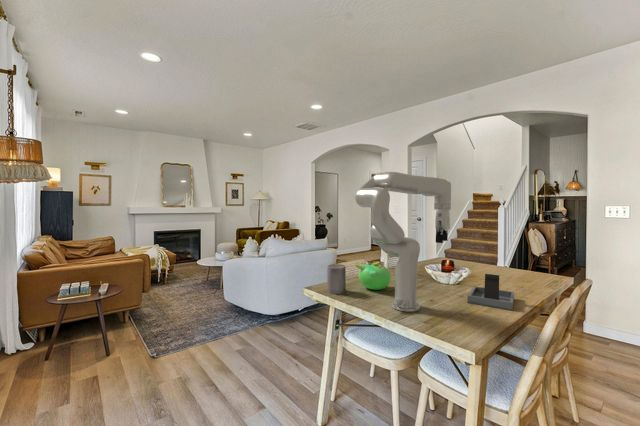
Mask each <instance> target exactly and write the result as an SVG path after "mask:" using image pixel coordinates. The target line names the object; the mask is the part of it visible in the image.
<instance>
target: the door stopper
mask: <svg viewBox="0 0 640 426" xmlns="http://www.w3.org/2000/svg"><path fill="white" fill-rule="evenodd" d="M484 288H485V289H484V298H489V299H495V300H499V290H500V274H490V273H484Z"/></svg>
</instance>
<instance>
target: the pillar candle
mask: <svg viewBox="0 0 640 426" xmlns="http://www.w3.org/2000/svg"><path fill="white" fill-rule="evenodd" d="M326 267H327V269H326V271H327V277H326V279H327V284H326V285H327V290H326V291H327V293H328V294H331V295H343V294H344V293H346V291H347V288H346V287H347V285H346V283H347V282H346V278H347V277H346V272H347V271H346V265H345V264H340V263H339V264H338V263H334V264H333V263H331V264H329V265H327V266H326Z"/></svg>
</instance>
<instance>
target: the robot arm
mask: <svg viewBox="0 0 640 426" xmlns="http://www.w3.org/2000/svg"><path fill="white" fill-rule="evenodd" d="M390 192H394V193H399V194H407V195H423V196H424V197H433V198H434V199H433V201H434V202H433V203H434V204H433V209H434V211H435V218H434V219H435V220H434V221H435V222H434V224H435V225H434V227H435V243H437V244H443V243H444V242H447V241H448V236H449V235H448V234H449V233H448V230H449V229H451V227H450V226H451V222H450V221H451V218H450V211H451V209H452V208H451V207H452V206H451V205H452V183H451V181H448V180H447V179H444V178H439V177H432V176H424V175H423V176H422V175H414V174H408V173H403V172H399V171H398V172H397V171H387V172H386V171H385V172H379V173H376V174H374V175H373V176H372V177H371V178H370V179H368V180H367V182H365V183H364V184H363V185H362V186H361V187H359V189H358V190H357V191H356V193H355V196H354V198H355V203H356V204H357V205H358V206H359V207H362V208H371V212H370V222H371V224H372V225H371V227H370V232H369V233H370V236H371V239H372V241H374V243H375V244H376V245H377V247H379V248H380V249H381V250H382V251H383V252H384V253H385V254H386V255H389V256H391V257H395V258H398V260H397V262H396V264H395V268H394V269H395V270H394V273H395V275H394V300H393V301H392V302H391V303H390V304H391V308H392V309H394V310H397V311H400V312H407V313H408V312H409V313H411V312H413V313H414V312H418V311H420V310H421V305H420V304H419V303H417V299H418V296H417V294H418V285H417V284H418V264H419V263H418V262H419V257H420V253H421V246H420V243H419V242H418V241H417V240H416V239H414V238H412V237H407V236H405V231H404V230H403V228H402V227H401V225H399V223H398V222H397V221H396V219H394V218H393V216H392V215H391V214H390V211H389V209H390V202H391V201H390V200H391V195H390Z"/></svg>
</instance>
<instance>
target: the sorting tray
mask: <svg viewBox="0 0 640 426" xmlns="http://www.w3.org/2000/svg"><path fill="white" fill-rule="evenodd" d="M484 289H485V287H483V286H473V287H472V288H471V290H470V292H469V293H468V294H467V304H471V305H478V306H483V307H488V308H493V309H500V310H506V311H510V312H511V311H513V310H514V303H515V291H510V290H509V291H508V290H503V289H499V300H495V299H489V298H484Z"/></svg>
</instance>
